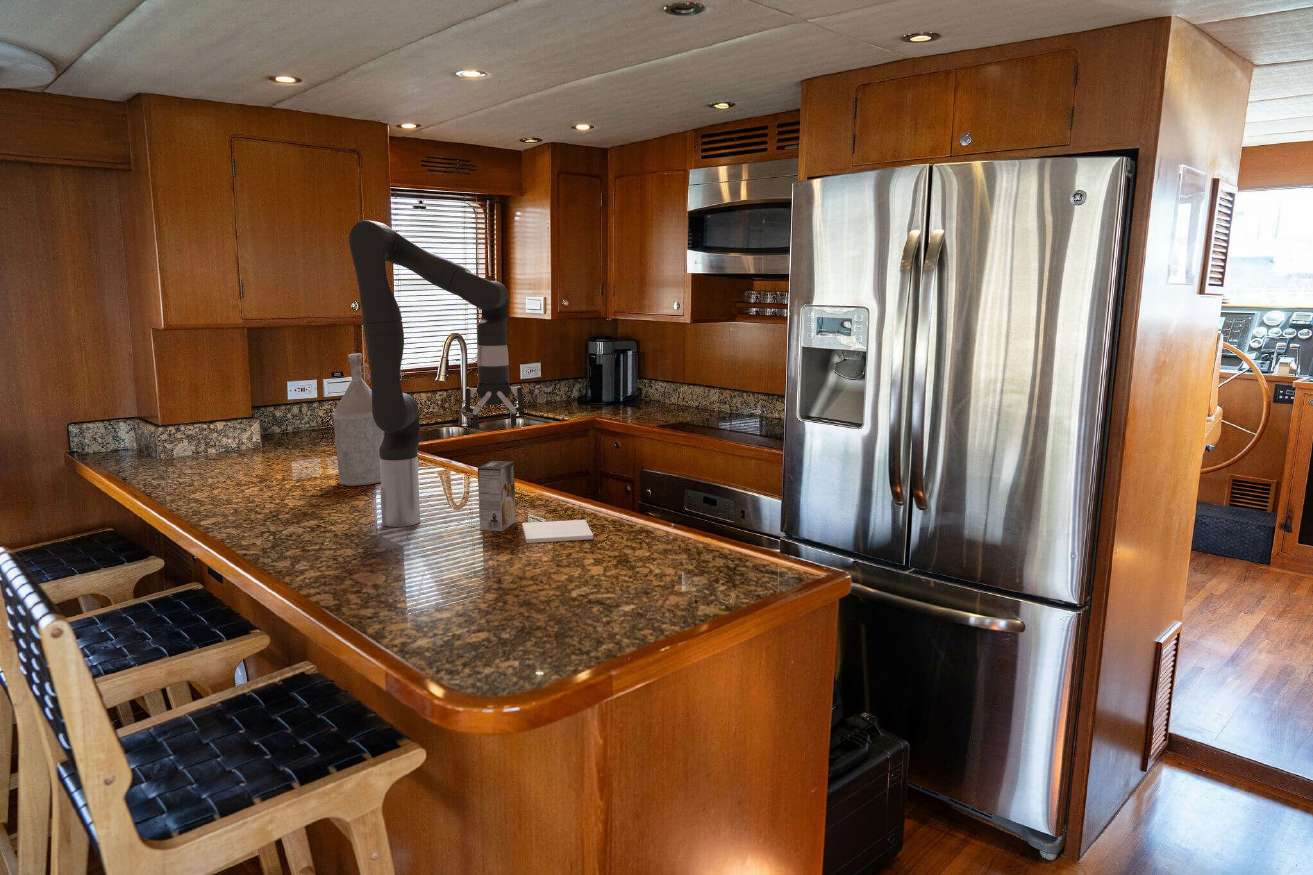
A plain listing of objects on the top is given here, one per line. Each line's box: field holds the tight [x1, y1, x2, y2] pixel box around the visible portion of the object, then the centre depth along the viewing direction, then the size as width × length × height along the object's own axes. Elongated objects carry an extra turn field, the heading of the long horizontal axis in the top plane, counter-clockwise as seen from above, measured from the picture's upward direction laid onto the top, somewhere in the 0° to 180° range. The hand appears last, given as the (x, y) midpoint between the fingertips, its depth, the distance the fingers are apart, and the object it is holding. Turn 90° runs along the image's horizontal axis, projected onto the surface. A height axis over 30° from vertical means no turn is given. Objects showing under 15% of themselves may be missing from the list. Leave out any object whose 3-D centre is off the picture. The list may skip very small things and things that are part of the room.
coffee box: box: [477, 460, 517, 532], centre depth 216 cm, size 9×6×16 cm
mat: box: [521, 519, 594, 544], centre depth 212 cm, size 16×14×1 cm
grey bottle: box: [332, 352, 384, 487], centre depth 263 cm, size 13×17×40 cm
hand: (495, 428), depth 213 cm, fingers open, 8 cm apart
